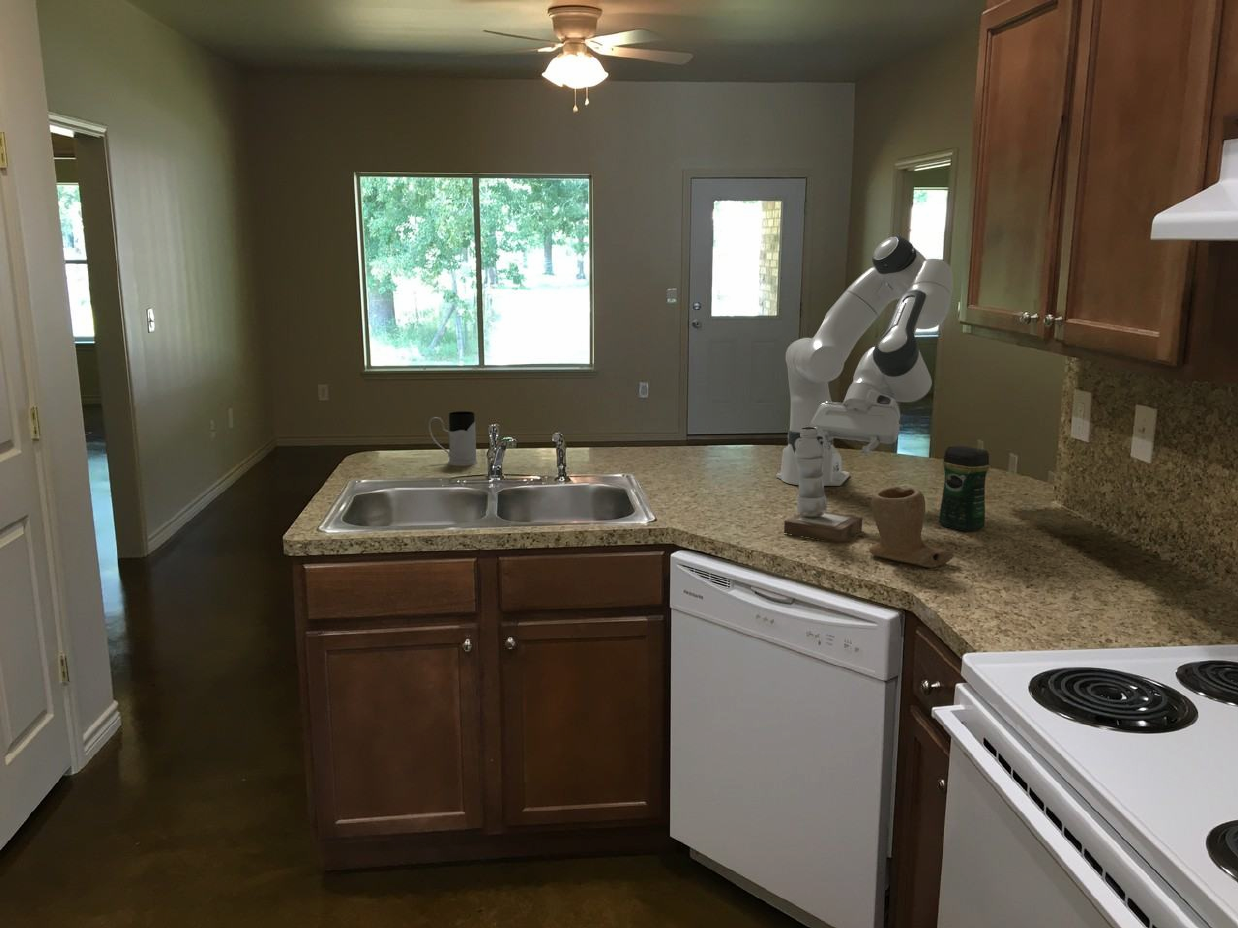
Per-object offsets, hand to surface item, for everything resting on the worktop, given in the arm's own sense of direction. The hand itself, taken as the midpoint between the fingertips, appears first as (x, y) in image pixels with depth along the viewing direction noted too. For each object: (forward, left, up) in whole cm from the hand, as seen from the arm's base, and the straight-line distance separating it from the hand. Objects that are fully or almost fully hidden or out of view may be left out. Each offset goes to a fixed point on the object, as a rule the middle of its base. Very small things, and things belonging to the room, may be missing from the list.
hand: (844, 452), depth 223 cm
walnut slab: (+11, 0, -16) cm, 20 cm away
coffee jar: (-12, +24, -17) cm, 32 cm away
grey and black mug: (+2, -121, -17) cm, 122 cm away
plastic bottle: (+11, -2, -13) cm, 18 cm away
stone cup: (+22, +22, -17) cm, 35 cm away
